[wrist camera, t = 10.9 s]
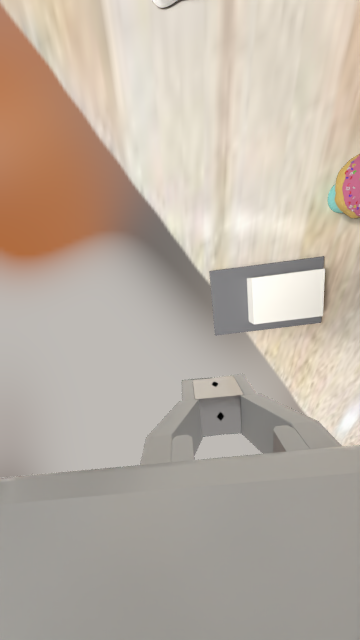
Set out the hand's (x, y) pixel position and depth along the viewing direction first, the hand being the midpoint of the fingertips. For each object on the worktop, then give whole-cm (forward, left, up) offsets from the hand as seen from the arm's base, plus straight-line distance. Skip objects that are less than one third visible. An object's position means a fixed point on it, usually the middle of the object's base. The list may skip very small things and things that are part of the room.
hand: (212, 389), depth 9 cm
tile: (+8, +7, -25) cm, 27 cm away
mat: (+11, +9, -26) cm, 30 cm away
